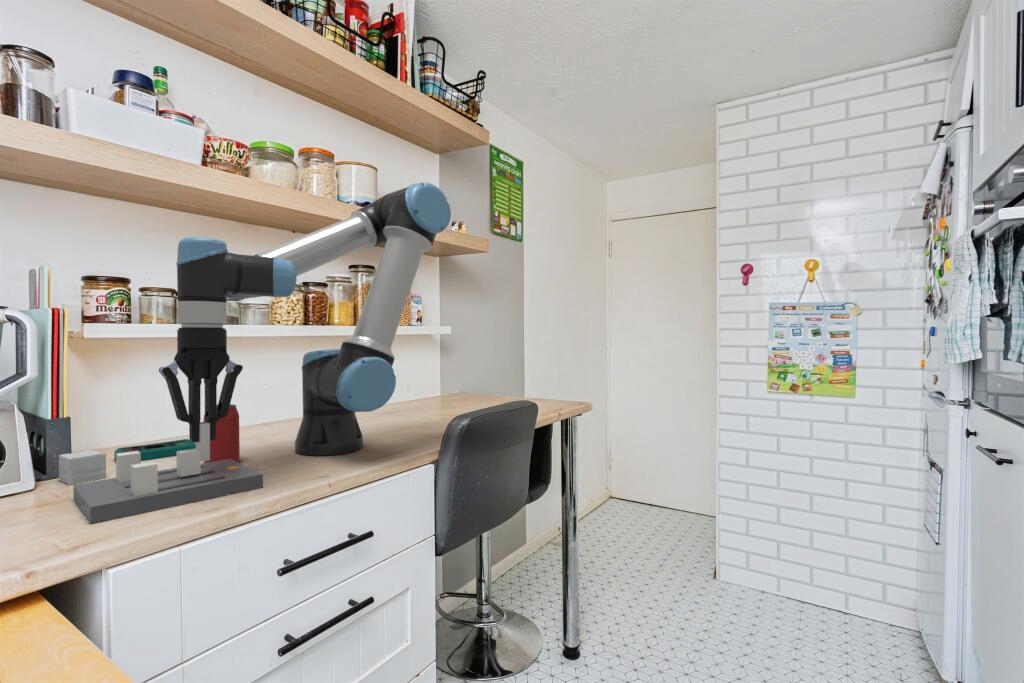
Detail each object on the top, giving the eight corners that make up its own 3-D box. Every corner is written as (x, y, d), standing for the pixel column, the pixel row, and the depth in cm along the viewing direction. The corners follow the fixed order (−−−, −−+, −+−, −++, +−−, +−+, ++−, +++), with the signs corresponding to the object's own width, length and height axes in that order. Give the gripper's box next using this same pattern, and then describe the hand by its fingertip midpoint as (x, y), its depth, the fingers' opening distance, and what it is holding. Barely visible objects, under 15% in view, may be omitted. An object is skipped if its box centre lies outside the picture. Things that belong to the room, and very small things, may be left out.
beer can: (242, 463, 109) (242, 406, 109) (206, 468, 105) (206, 409, 105) (236, 457, 114) (235, 403, 114) (201, 462, 110) (200, 405, 110)
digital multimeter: (112, 460, 113) (111, 447, 113) (189, 449, 124) (189, 437, 124) (118, 467, 108) (118, 452, 108) (199, 454, 119) (198, 441, 119)
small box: (107, 478, 98) (106, 452, 98) (69, 486, 94) (68, 458, 93) (95, 473, 101) (95, 448, 101) (58, 481, 97) (57, 454, 97)
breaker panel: (230, 470, 103) (230, 436, 103) (263, 487, 92) (262, 449, 92) (73, 499, 86) (72, 458, 86) (90, 523, 75) (89, 476, 75)
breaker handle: (196, 470, 93) (195, 448, 93) (200, 473, 91) (200, 450, 91) (176, 474, 91) (176, 451, 91) (180, 476, 89) (180, 453, 89)
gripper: (234, 327, 99) (234, 450, 100) (153, 326, 90) (153, 462, 90) (249, 326, 94) (249, 456, 95) (165, 325, 85) (165, 470, 85)
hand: (202, 459), depth 92 cm, fingers closed
